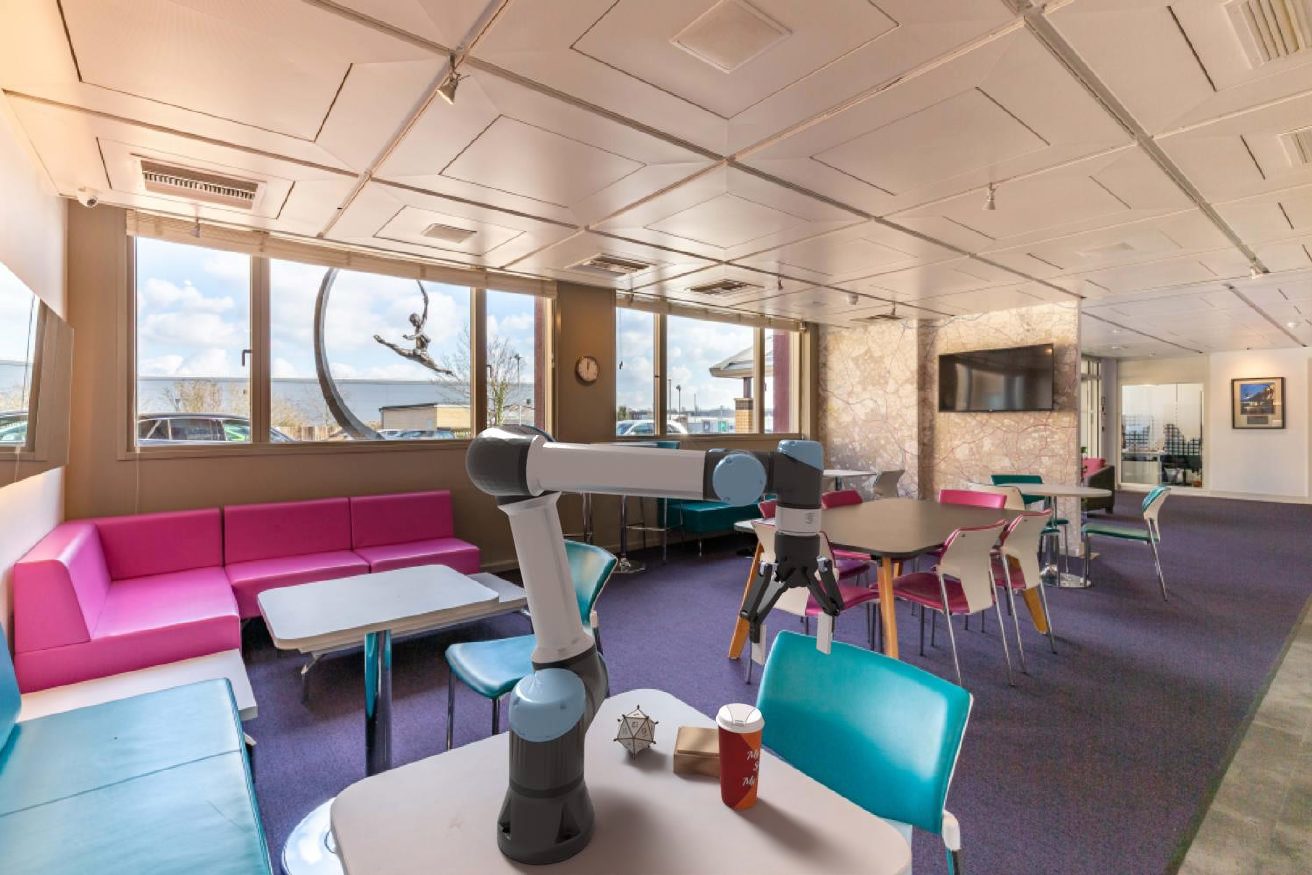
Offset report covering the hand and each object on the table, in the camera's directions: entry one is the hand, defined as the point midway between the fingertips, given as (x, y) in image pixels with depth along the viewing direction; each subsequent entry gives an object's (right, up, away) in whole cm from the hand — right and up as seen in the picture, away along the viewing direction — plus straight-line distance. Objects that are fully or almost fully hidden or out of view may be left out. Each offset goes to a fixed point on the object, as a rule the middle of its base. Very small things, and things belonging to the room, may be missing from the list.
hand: (791, 656), depth 102 cm
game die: (-27, -25, +16) cm, 40 cm away
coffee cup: (-9, -25, +2) cm, 27 cm away
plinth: (-14, -25, +13) cm, 31 cm away
